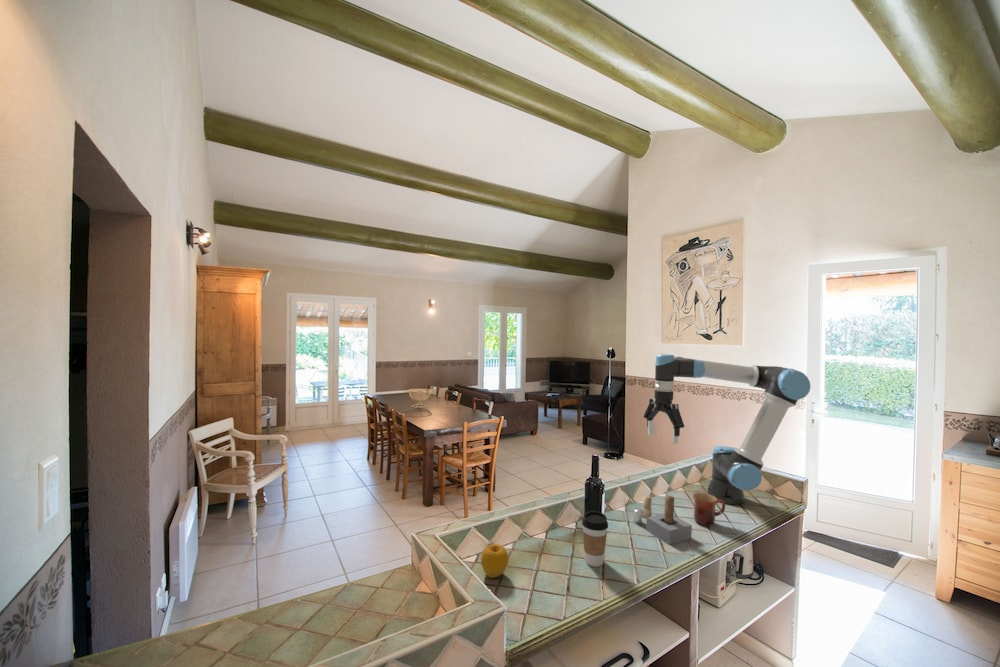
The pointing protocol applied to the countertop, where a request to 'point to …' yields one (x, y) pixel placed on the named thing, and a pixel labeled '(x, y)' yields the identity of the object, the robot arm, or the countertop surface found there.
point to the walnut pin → (669, 510)
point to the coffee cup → (594, 537)
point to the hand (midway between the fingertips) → (662, 439)
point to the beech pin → (647, 506)
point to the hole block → (669, 529)
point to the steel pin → (638, 516)
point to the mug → (706, 508)
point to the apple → (494, 560)
